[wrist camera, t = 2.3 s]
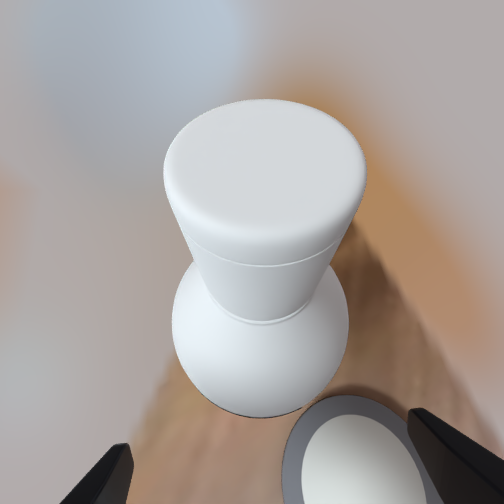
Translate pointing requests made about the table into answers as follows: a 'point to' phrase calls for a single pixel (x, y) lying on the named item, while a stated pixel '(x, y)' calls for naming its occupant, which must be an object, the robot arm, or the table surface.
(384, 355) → the table surface
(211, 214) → the bath foam
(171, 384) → the table surface
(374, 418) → the dock pad
